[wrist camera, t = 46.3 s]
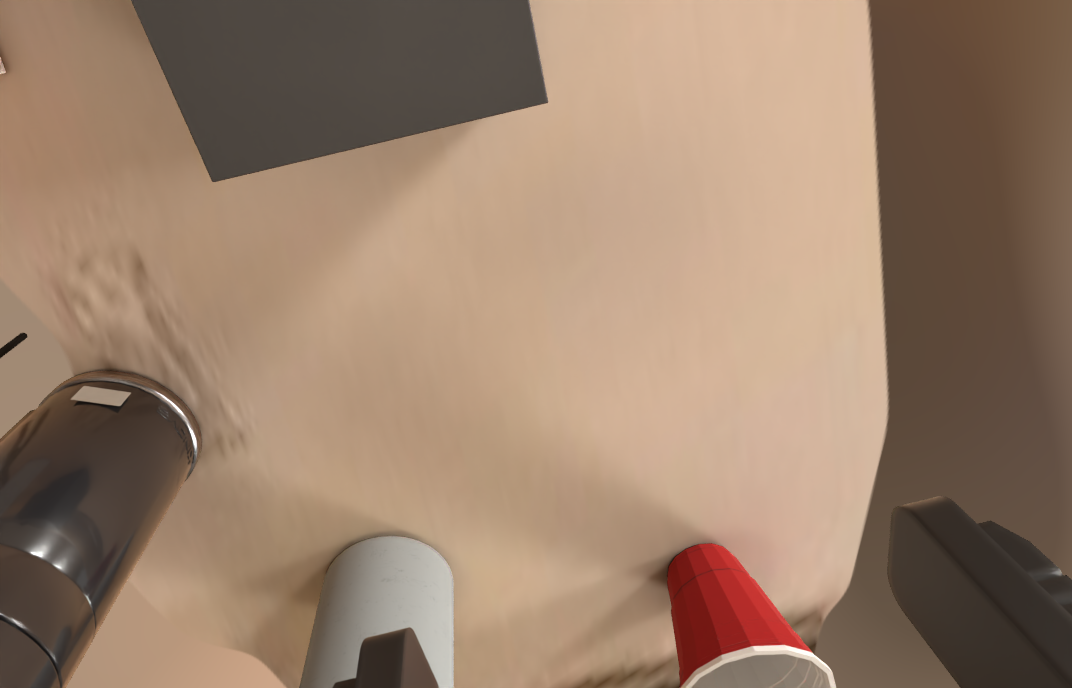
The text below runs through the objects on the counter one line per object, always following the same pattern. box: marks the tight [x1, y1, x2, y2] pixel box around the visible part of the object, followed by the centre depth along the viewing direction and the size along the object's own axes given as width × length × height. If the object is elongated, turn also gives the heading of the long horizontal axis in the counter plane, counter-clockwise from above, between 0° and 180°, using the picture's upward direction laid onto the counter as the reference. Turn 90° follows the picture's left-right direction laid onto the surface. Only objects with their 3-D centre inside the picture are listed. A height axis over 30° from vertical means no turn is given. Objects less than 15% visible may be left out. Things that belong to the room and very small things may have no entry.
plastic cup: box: [667, 543, 836, 688], centre depth 48 cm, size 11×11×12 cm
